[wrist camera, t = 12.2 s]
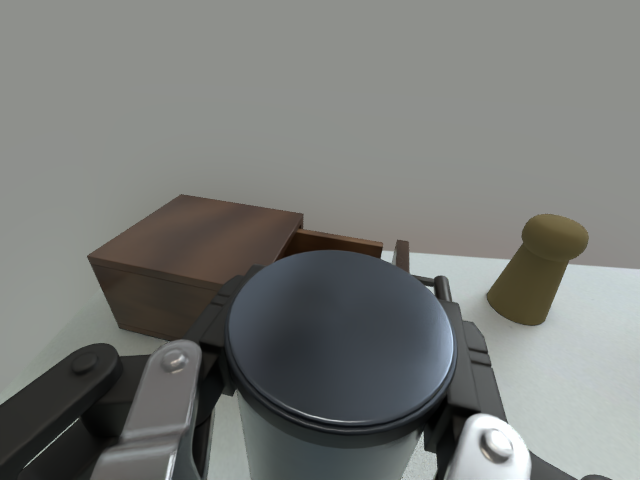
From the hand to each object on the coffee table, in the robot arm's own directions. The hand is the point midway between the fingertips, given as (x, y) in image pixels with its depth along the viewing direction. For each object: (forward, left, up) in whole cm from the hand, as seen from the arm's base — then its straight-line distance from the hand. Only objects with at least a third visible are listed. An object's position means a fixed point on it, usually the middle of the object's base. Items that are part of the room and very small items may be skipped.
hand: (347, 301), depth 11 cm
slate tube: (-1, -2, -11) cm, 11 cm away
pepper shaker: (+24, +15, -17) cm, 33 cm away
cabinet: (-9, +18, -16) cm, 26 cm away
